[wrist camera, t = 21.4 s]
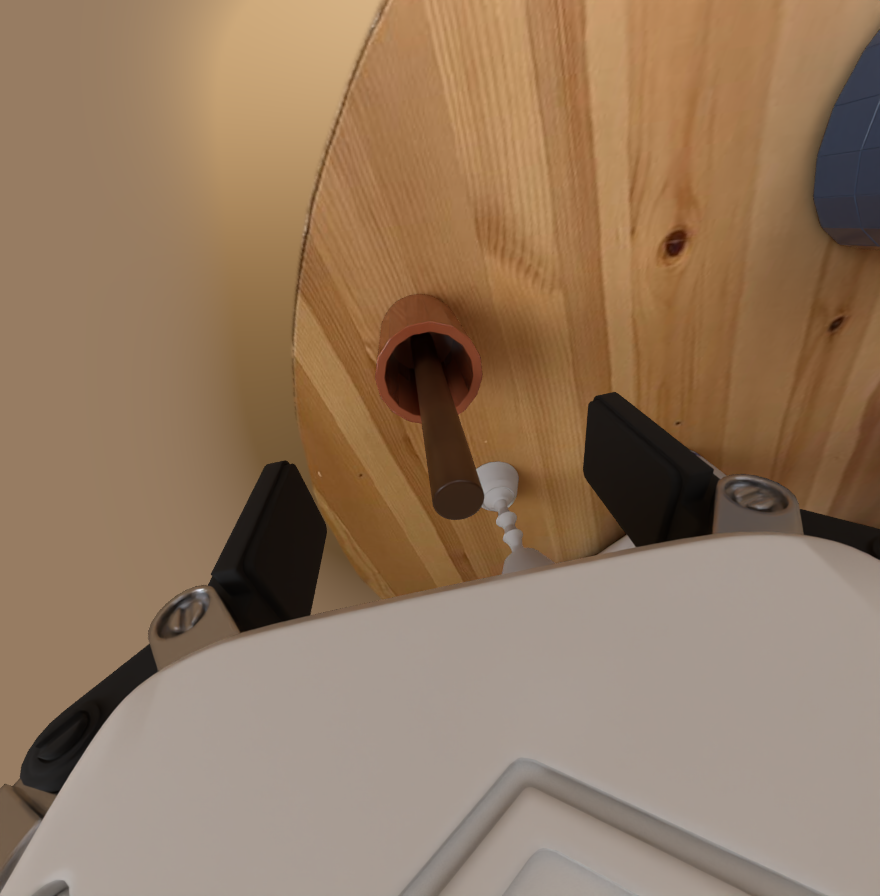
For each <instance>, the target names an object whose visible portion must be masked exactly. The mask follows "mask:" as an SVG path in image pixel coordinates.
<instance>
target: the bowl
mask: <svg viewBox="0 0 880 896" xmlns="http://www.w3.org/2000/svg"><path fill="white" fill-rule="evenodd" d="M834 106H835V107H834V108H833V110H832V113H831V116H830V119H829V122H828V125H827V128H826V131H825V134H824V137H823V140H822V143H821V146H820V149H819V152H818V155H817V161H816V172H815V183H814V194H813V197H814V198H813V199H814V203H815V207H816V210H817V214H818V218H819V221H820V225H821V227H822V228H823V229H824V230H825V231H826V232H827V233H828V234H829V235H830V236H831V237H832V238H833V239H834V240H835V241H836V242H837V243H838V244H840V245H844V246H849V247H854V248H859V249H864V250H880V30H879V31H878V32H877V34H876V35H875V36H874V38H873V39H872V40H871V42H870V43H869V44H868V45H867V47H866V48H865V50H864V51H863V53H862V55H861V57H860V59H859V60H858V62H857V64H856V66H855V68H854V70H853V72H852V73H851V75H850V77H849V79H848V81H847V83H846V84H845V86H844V88H843V90H842V92H841V94H840V95H839V97H838V99H837V101H836V103H835V105H834Z"/></svg>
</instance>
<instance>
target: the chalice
mask: <svg viewBox="0 0 880 896" xmlns="http://www.w3.org/2000/svg"><path fill="white" fill-rule="evenodd" d="M476 471H477V474H478V477H479V480H480V483H481V486H482V489H483V492H484V502H483V505H482V508H484V509H486V510H490V511H498V518H497V520H496V523H497V525H498V526H499V527H503V529H504V530H505V534H504V536H503V541H504V542H505V543H507V544H508V545H509V546H510V548H511V550H512V553H511V554H510V555H509V556H508V557H507V558H506V560H505V562H504V567H503V572H502V574H507V573H511V572H516V571H521V570H526V569H531V568H536V567H541V566H545V565H550V564H555V563H554V562H553V561H551V560H550V559H549V558H547V557H546V556H544V555H543V554H542V553H540V552H539V551H537V550H535V549H533V548H524V547H523V546H522V536H523V533H522V531H520V530H518V529H517V528H516V527H515V522H516V519H517V516H516V514H515V513H513V512H510V511H509V510H508V507H510V506H511V505H512V503H513V502H514V500H515V498H516V497H517V488H518V480H519V477H518V473H517V471H516V470H515V469H514V467H512V466H511V465H509V464H507V463H503V462H490V463H487V464H485V465H482V466H480V467H479V468H477V469H476Z"/></svg>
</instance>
